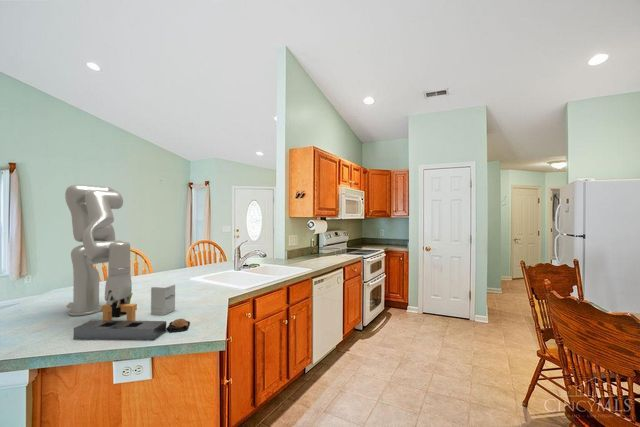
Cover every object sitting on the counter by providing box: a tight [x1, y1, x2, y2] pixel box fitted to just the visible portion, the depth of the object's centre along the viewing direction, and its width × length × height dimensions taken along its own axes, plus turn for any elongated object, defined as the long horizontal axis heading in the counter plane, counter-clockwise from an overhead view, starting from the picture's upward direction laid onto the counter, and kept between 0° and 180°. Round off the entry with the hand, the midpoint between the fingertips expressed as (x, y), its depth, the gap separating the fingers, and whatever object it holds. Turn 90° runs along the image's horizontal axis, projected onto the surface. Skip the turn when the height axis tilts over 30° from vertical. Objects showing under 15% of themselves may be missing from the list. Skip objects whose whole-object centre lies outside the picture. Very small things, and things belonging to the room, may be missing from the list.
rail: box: [73, 319, 167, 341], centre depth 109 cm, size 30×8×4 cm, turn 88°
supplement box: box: [150, 283, 176, 316], centre depth 135 cm, size 7×7×13 cm
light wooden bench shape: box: [101, 303, 138, 321], centre depth 120 cm, size 13×3×8 cm, turn 88°
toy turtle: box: [166, 318, 191, 334], centre depth 117 cm, size 11×8×4 cm
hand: (119, 315), depth 120 cm, fingers closed on light wooden bench shape, 2 cm apart
